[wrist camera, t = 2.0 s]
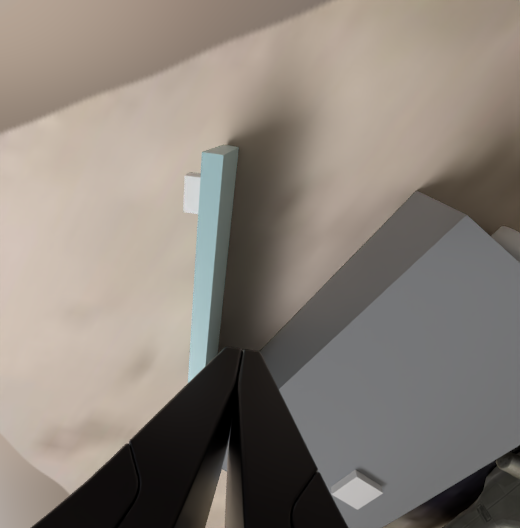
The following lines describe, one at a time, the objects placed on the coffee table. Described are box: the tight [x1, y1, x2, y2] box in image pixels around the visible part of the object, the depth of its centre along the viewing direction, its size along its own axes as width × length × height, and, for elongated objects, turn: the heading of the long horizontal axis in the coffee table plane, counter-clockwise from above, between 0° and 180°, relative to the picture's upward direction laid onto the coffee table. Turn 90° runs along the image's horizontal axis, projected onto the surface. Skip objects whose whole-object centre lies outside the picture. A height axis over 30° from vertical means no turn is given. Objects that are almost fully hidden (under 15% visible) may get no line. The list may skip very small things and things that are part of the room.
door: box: [183, 145, 239, 383], centre depth 18 cm, size 16×2×5 cm, turn 172°
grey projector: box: [222, 191, 520, 528], centre depth 19 cm, size 20×12×5 cm, turn 142°
